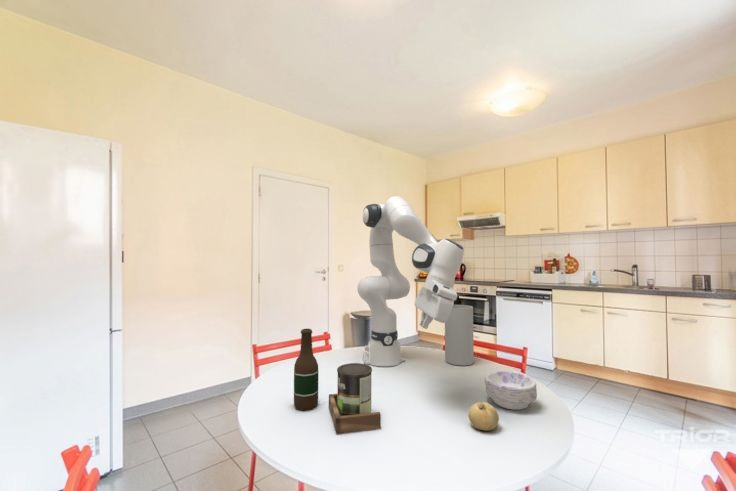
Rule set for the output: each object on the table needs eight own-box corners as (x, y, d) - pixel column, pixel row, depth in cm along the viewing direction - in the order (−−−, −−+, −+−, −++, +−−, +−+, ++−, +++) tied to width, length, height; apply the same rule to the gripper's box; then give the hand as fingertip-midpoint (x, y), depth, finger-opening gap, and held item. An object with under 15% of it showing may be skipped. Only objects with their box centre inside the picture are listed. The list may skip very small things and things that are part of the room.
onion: (465, 419, 95) (464, 394, 95) (493, 420, 94) (492, 395, 95) (473, 434, 87) (472, 407, 87) (503, 435, 86) (503, 407, 87)
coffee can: (341, 428, 90) (342, 376, 90) (333, 412, 99) (333, 364, 100) (377, 422, 93) (377, 372, 94) (365, 407, 103) (365, 361, 103)
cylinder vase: (441, 358, 154) (440, 304, 155) (466, 357, 155) (466, 304, 156) (450, 366, 141) (450, 308, 143) (478, 365, 143) (477, 308, 144)
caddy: (328, 407, 102) (328, 394, 103) (366, 403, 105) (366, 390, 106) (336, 434, 87) (336, 418, 87) (380, 428, 89) (380, 413, 90)
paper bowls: (485, 410, 101) (484, 383, 101) (485, 391, 115) (485, 368, 115) (540, 418, 95) (539, 390, 96) (533, 397, 110) (533, 373, 110)
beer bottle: (309, 398, 109) (309, 325, 110) (323, 405, 103) (323, 329, 105) (288, 405, 104) (289, 329, 105) (302, 414, 98) (302, 333, 99)
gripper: (418, 279, 117) (404, 315, 117) (442, 290, 97) (425, 334, 97) (433, 285, 118) (420, 321, 118) (460, 297, 98) (444, 340, 98)
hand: (423, 327), depth 107 cm, fingers closed
